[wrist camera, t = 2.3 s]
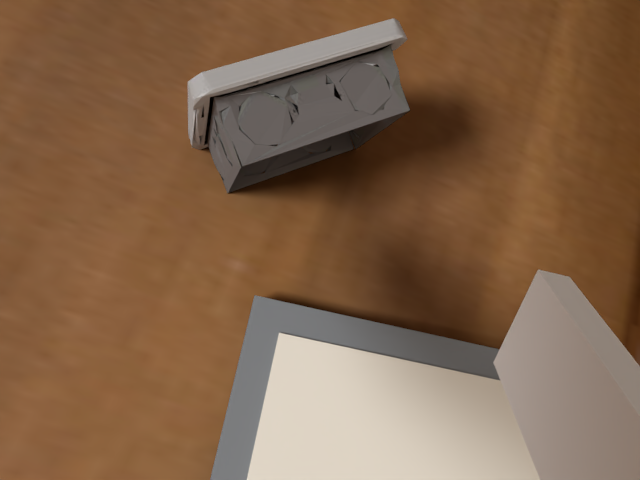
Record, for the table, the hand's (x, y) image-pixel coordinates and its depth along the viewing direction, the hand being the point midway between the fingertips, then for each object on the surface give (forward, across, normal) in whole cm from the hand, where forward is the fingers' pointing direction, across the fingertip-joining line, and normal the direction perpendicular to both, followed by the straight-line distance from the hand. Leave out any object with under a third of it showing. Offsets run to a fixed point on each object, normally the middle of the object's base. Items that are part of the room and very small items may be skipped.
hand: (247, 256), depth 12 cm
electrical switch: (+18, 0, -3) cm, 18 cm away
